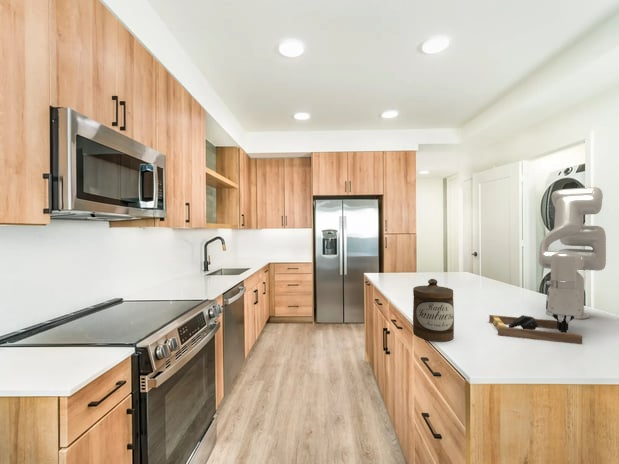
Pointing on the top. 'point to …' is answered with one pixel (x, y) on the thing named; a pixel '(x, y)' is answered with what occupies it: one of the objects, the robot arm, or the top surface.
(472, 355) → the top surface
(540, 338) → the brown wooden u-shaped frame
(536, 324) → the power plug
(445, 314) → the wooden container
